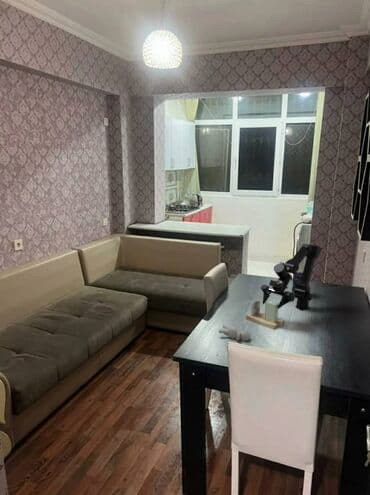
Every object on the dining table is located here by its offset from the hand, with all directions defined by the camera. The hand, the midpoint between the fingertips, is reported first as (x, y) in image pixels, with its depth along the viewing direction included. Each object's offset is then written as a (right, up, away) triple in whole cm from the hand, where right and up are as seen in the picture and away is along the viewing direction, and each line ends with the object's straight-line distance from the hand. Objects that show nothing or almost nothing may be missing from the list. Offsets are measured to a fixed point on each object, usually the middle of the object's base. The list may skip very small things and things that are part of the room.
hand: (270, 306), depth 192 cm
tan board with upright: (-2, -9, +6) cm, 11 cm away
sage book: (+1, -8, +3) cm, 9 cm away
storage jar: (+30, -1, +46) cm, 55 cm away
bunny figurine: (-21, -14, -12) cm, 28 cm away
